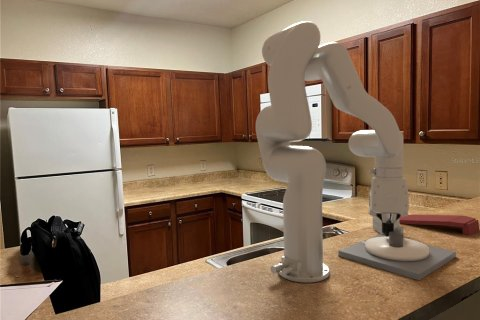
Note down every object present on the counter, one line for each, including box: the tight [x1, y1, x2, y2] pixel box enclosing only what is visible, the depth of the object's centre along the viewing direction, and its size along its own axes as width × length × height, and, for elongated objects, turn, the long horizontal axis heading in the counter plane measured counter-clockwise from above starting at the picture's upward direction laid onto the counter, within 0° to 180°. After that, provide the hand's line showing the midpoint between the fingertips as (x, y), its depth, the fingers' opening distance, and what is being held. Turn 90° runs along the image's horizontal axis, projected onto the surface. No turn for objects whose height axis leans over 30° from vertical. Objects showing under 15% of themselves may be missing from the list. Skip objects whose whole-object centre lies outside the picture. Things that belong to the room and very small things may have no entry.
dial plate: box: [338, 233, 457, 281], centre depth 94 cm, size 22×22×2 cm
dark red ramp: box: [399, 214, 480, 237], centre depth 123 cm, size 12×5×25 cm
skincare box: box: [371, 213, 401, 235], centre depth 117 cm, size 8×7×16 cm
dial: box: [365, 226, 429, 261], centre depth 94 cm, size 16×16×5 cm
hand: (387, 235), depth 100 cm, fingers closed
